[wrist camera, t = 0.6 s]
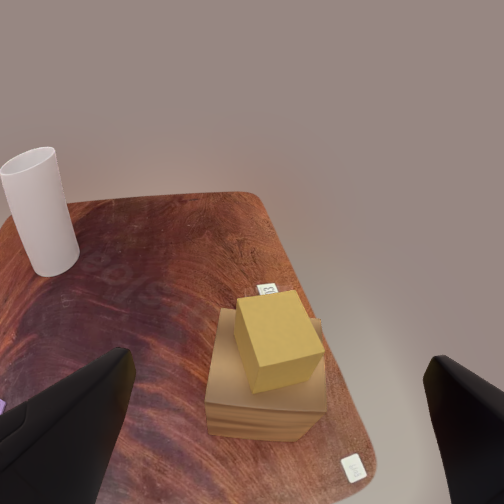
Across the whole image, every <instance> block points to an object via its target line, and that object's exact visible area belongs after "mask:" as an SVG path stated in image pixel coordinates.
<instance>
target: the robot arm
mask: <svg viewBox="0 0 504 504" xmlns="http://www.w3.org/2000/svg"><path fill="white" fill-rule="evenodd" d="M135 377H136V369H135V365H134V362H133V358H132V354H131V351H130V350H129V349H126V348H120V347H116V348H114V349H112V350H111V351H109V352H107V353H106V354H104V355H102V356H101V357H99V358H97V359H96V360H94V361H92V362H91V363H89V364H87V365H86V366H84V367H82V368H81V369H79V370H77V371H76V372H74V373H72V374H71V375H69V376H67V377H66V378H64V379H62V380H60V381H59V382H57V383H55V384H54V385H52V386H50V387H49V388H47V389H45V390H44V391H42V392H40V393H38V394H37V395H35V396H33V397H32V398H30V399H28V401H25V402H23V403H21V404H20V405H18V406H16V407H14V408H13V409H11V410H9V411H7V412H5V413H3V414H1V415H0V504H95V502H96V499H97V496H98V493H99V489H100V486H101V483H102V480H103V477H104V475H105V472H106V469H107V466H108V463H109V460H110V457H111V454H112V452H113V449H114V446H115V443H116V441H117V438H118V435H119V433H120V430H121V427H122V425H123V422H124V419H125V415H126V412H127V408H128V404H129V400H130V396H131V392H132V388H133V384H134V381H135ZM423 384H424V388H425V393H426V397H427V402H428V407H429V412H430V417H431V421H432V425H433V429H434V432H435V436H436V439H437V443H438V446H439V450H440V454H441V458H442V462H443V466H444V470H445V475H446V479H447V484H448V488H449V493H450V498H451V504H504V392H503V391H501V390H500V389H498V388H497V387H495V386H493V385H492V384H490V383H489V382H487V381H486V380H484V379H482V378H481V377H479V376H478V375H476V374H475V373H473V372H471V371H470V370H468V369H467V368H465V367H463V366H462V365H460V364H459V363H457V362H455V361H454V360H452V359H451V358H449V357H447V356H446V355H438V356H434V357H433V358H432V359H431V361H430V363H429V365H428V367H427V369H426V372H425V374H424V376H423Z"/></svg>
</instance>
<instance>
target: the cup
mask: <svg viewBox="0 0 504 504" xmlns="http://www.w3.org/2000/svg"><path fill="white" fill-rule="evenodd" d="M0 177H1V181H2V184H3V188H4V191H5V195H6V198H7V201H8V204H9V207H10V210H11V213H12V216H13V219H14V222H15V225H16V227H17V230H18V233H19V235H20V238H21V240H22V243H23V245H24V248H25V250H26V253H27V255H28V257H29V260H30V262H31V264H32V266H33V268H34V270H35V272H36V273H37V274H38V275H40V276H43V277H52V276H56V275H59V274H61V273H63V272H65V271H67V270H68V269H69V268H71V267H72V266H73V265H74V264H75V262H76V261H77V259H78V257H79V253H80V250H79V246H78V243H77V240H76V237H75V233H74V230H73V226H72V223H71V219H70V215H69V212H68V208H67V204H66V200H65V196H64V191H63V187H62V183H61V178H60V173H59V168H58V163H57V158H56V152H55V149H54V148H52V147H41V148H36V149H32V150H29V151H27V152H24V153H22V154H20V155H18V156H16V157H14V158H12V159H11V160H9V161H8V162H7V163H5V164H4V165H3V166H2V167H1V169H0Z"/></svg>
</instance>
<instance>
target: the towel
mask: <svg viewBox="0 0 504 504" xmlns="http://www.w3.org/2000/svg"><path fill="white" fill-rule="evenodd" d="M6 404H7V403H6V402H4V401H2V400H1V399H0V415H1V414H3V412H4V409H5V406H6Z"/></svg>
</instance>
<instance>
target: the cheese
mask: <svg viewBox="0 0 504 504" xmlns="http://www.w3.org/2000/svg"><path fill="white" fill-rule="evenodd" d="M234 336H235V340H236V343H237V346H238V350H239V353H240V356H241V360H242V363H243V366H244V370H245V373H246V376H247V379H248V382H249V386H250V389H251V392H252V394H256V393H260V392H265V391H269V390H273V389H278V388H282V387H286V386H290V385H294V384H297V383H301V382H305V381H308V380H309V378H310V377H311V375H312V374H313V372H314V370H315V368H316V367H317V365H318V363H319V362H320V360H321V358H322V356H323V355H324V353H325V349H324V347H323V345H322V343H321V341H320V339H319V337H318V335H317V333H316V331H315V329H314V327H313V325H312V323H311V321H310V319H309V317H308V315H307V313H306V311H305V309H304V307H303V305H302V303H301V301H300V299H299V296H298V294H297V292H296V290H292V291H286V292H279V293H273V294H266V295H259V296H253V297H246V298H238V299H237V306H236V317H235V327H234Z"/></svg>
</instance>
